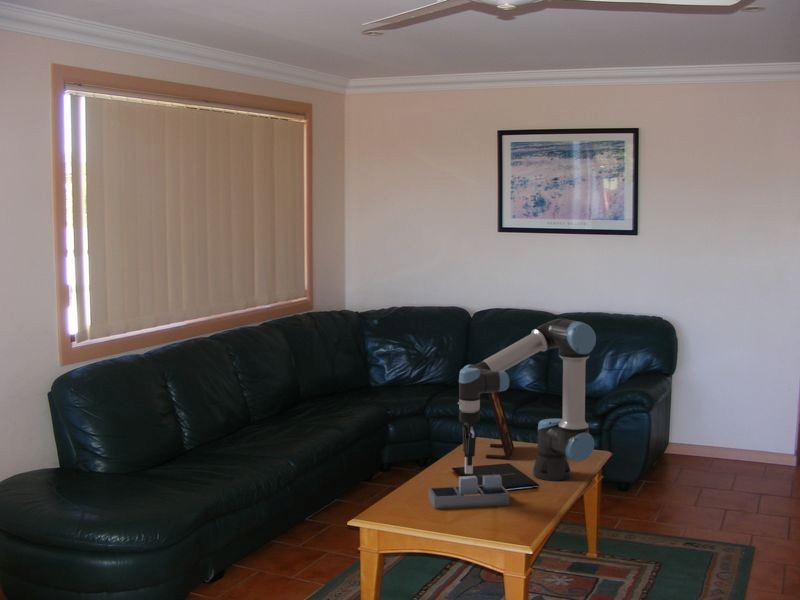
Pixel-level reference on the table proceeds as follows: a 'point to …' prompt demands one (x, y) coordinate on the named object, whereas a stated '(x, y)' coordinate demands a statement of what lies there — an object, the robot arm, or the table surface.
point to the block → (468, 485)
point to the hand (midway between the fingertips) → (468, 472)
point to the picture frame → (501, 427)
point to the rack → (471, 495)
